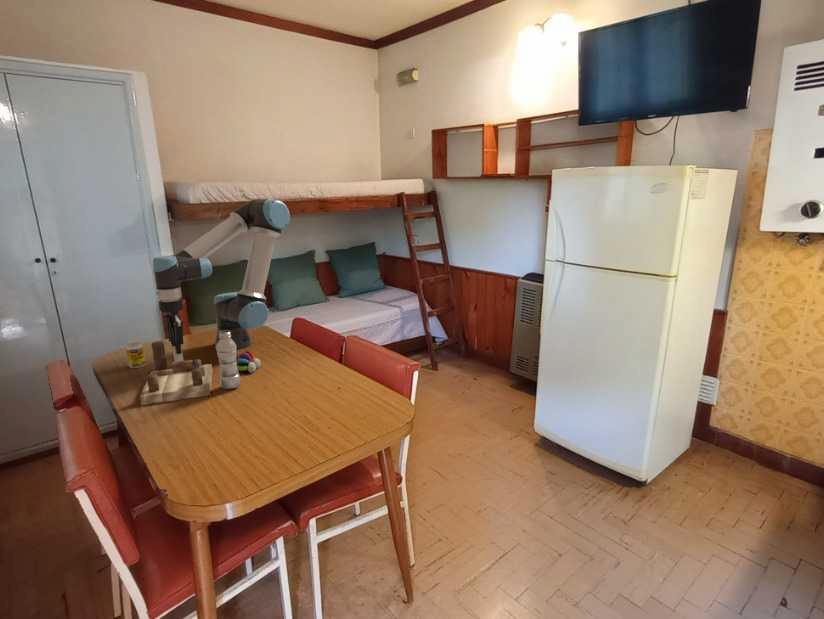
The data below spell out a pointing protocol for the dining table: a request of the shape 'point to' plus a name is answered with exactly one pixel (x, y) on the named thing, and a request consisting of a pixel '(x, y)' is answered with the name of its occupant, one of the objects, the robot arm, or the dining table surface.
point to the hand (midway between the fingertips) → (179, 361)
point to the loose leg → (159, 356)
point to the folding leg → (185, 365)
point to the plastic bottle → (227, 361)
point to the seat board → (177, 385)
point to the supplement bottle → (135, 354)
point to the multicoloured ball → (247, 362)
